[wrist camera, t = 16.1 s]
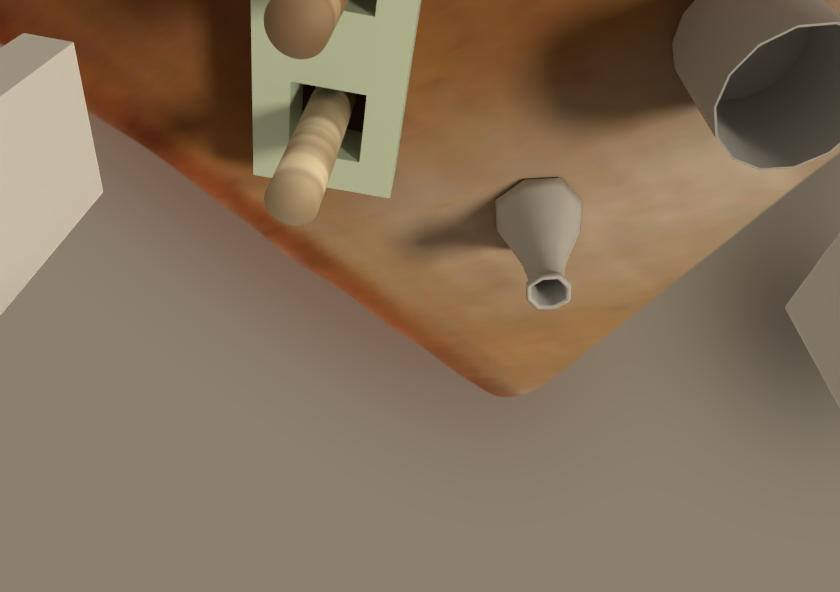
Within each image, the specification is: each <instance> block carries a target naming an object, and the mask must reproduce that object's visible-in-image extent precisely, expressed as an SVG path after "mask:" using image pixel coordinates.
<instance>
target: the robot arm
mask: <svg viewBox="0 0 840 592" xmlns="http://www.w3.org/2000/svg"><path fill="white" fill-rule="evenodd" d="M102 193H103V188H102V183H101V178H100V173H99V168H98V163H97V158H96V154H95V148H94V143H93V138H92V133H91V128H90V123H89V118H88V113H87V108H86V103H85V97H84V92H83V87H82V82H81V77H80V72H79V67H78V62H77V57H76V52H75V47H74V42H70V41H64V40H58V39H53V38H47V37H42V36H36V35H31V34H25V33H23V34H21V35H20V36H18V37H17V38H15V39H14V40H12V41H11V42H9V43H7V44H6V45H4V46H3V47H1V48H0V315H1V314H2V313H3V312H4V310H5V309H6V308H7V307H8V306H9V304H10V303H11V302H12V301H13V300H14V298H15V297H16V296H17V295H18V293H19V292H20V291H21V290H22V289H23V288H24V286H25V285H26V284H27V283H28V282H29V280H30V279H31V278H32V277H33V276H34V274H35V273H36V272H37V271H38V270H39V268H40V267H41V266H42V265H43V264H44V262H45V261H46V260H47V258H49V256H50V255H51V254H52V253H53V251H54V250H55V249H56V248H57V247H58V245H59V244H60V243H61V242H62V241H63V239H64V238H65V237H66V236H67V235H68V233H69V232H70V231H71V230H72V229H73V227H74V226H75V225H76V224H77V223H78V222H79V220H80V219H81V218H82V217H83V215H84V214H85V213H86V212H87V211H88V210H89V208H90V207H91V206H92V205H93V204H94V202H95V201H96V200H97V199H98V198H99V196H100V195H101V194H102ZM785 309H786V311H787V312H788V314H789V316H790V318H791V320H792V322H793V323H794V325H795V327H796V329H797V331H798V333H799V334H800V336H801V338H802V340H803V342H804V344H805V346H806V347H807V349H808V351H809V353H810V355H811V356H812V358H813V360H814V362H815V364H816V366H817V368H818V370H819V371H820V373H821V375H822V377H823V379H824V381H825V382H826V384H827V386H828V388H829V390H830V392H831V394H832V395H833V397H834V399H835V401H836V403H837V405H838V407H839V408H840V233H839V234H838V235H837V236H836V238H835V239H834V241H833V242H832V244H831V245H830V246H829V248H828V249H827V250H826V252H825V253H824V254H823V256H822V257H821V258H820V260H819V261H818V263H817V264H816V265H815V267H814V268H813V269H812V271H811V272H810V274H809V275H808V276H807V278H806V279H805V280H804V282H803V283H802V285H801V286H800V287H799V289H798V290H797V291H796V293H795V294H794V296H793V297H792V298H791V300H790V301H789V302H788V304H787V305H786V307H785Z"/></svg>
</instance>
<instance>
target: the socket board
mask: <svg viewBox="0 0 840 592" xmlns="http://www.w3.org/2000/svg"><path fill="white" fill-rule="evenodd" d="M269 2H270V0H251V54H252V116H253V175H258V176H264V177H270V178H272V177H273V175H274V173H275V171H276V169H277V166H278V164H279V162H280V160H281V158H282V156H283V154H284V152H285V150H286V148H287V145H288V143H289V141H290V139H291V137H292V135H293V133H294V131H295V129H296V126H297V124H298V122H299V120H300V118H301V116H302V108H303V84H307V85H312V86H318V87H323V88H329V89H334V90H340V91H345V92H351V93H357V94H362V95H367V97H366V106H365V115H364V124H363V132H360V131H354V130H348V129H346V132H345V134H344V137H343V140H342V143H341V146H340V149H339V152H338V155H337V158H336V161H335V164H334V167H333V170H332V172H331V175H330V178H329V181H328V184H327V188H333V189H339V190H345V191H351V192H356V193H362V194H368V195H374V196H379V197H385V198H390V196H391V191H392V185H393V180H394V175H395V170H396V164H397V157H398V151H399V144H400V138H401V131H402V124H403V118H404V111H405V105H406V98H407V91H408V85H409V78H410V72H411V65H412V58H413V52H414V45H415V39H416V32H417V25H418V19H419V12H420V6H421V0H349V1H348V3H347V5H346V7H345V9H344V11H343V13H342V15H341V17H340V19H339V21H338V23H337V25H336V27H335V29H334V31H333V33H332V35H331V37H330V39H329V41H328V43H327V45H326V46H325V48H324V49H323V50H322V52H320V53H319V54H318V55H316V56H315V57H312V58H309V59H294V58H291V57H288V56H286V55H284V54H283V53H281V52H280V51H278V50H277V49H276V48H275V47H274V46H273V44H272V43H271V42H270V40H269V38H268V36H267V34H266V31H265V28H264V12H265V9H266V7H267V5H268V3H269Z"/></svg>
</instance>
